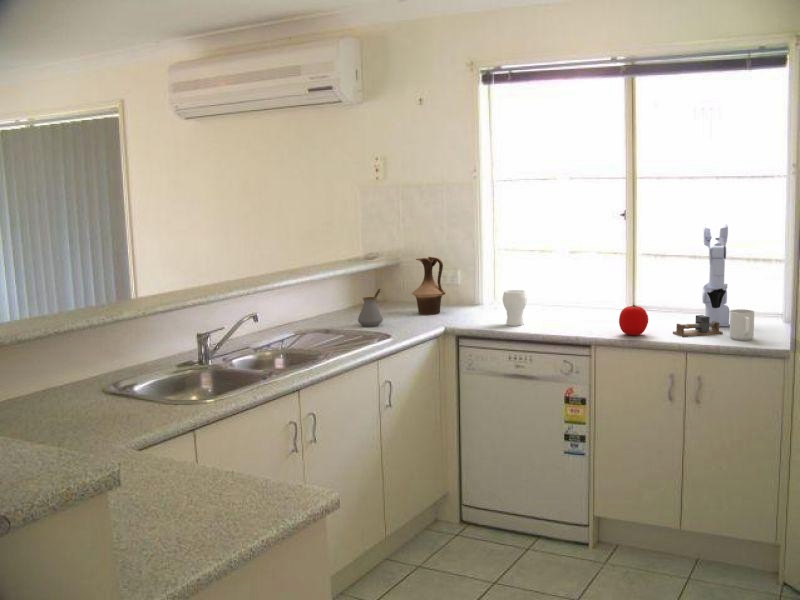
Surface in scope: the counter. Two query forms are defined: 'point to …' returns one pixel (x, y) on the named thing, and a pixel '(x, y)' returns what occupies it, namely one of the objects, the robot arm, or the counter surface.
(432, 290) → the pitcher
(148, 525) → the counter surface
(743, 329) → the mug
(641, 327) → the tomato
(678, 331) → the towel rail
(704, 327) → the collar
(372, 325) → the coffee pot
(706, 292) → the robot arm
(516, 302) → the cup
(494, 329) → the counter surface
